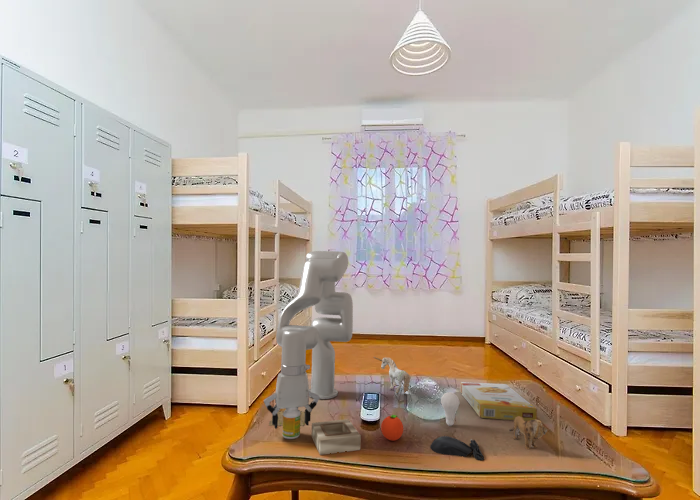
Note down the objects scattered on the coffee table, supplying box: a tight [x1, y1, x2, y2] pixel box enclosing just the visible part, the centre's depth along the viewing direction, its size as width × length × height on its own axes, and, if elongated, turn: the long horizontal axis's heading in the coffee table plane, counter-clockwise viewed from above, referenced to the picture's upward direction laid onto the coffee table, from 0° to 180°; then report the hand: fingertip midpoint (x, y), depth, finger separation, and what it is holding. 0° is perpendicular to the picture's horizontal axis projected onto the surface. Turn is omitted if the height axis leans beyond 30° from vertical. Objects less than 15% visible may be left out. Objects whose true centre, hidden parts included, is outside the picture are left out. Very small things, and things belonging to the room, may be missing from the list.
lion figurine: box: [509, 416, 548, 450], centre depth 114 cm, size 15×5×9 cm, turn 14°
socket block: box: [310, 418, 362, 456], centre depth 110 cm, size 12×12×4 cm
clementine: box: [380, 414, 404, 441], centre depth 114 cm, size 8×7×7 cm
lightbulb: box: [440, 391, 461, 427], centre depth 125 cm, size 6×6×11 cm
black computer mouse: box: [429, 435, 485, 462], centre depth 108 cm, size 10×15×4 cm
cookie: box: [268, 410, 306, 427], centre depth 127 cm, size 12×12×1 cm
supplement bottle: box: [282, 407, 301, 440], centre depth 114 cm, size 5×5×10 cm
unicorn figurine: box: [373, 356, 411, 394], centre depth 159 cm, size 7×20×13 cm, turn 45°
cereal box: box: [459, 381, 538, 422], centre depth 144 cm, size 20×6×28 cm
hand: (291, 425), depth 114 cm, fingers open, 9 cm apart
